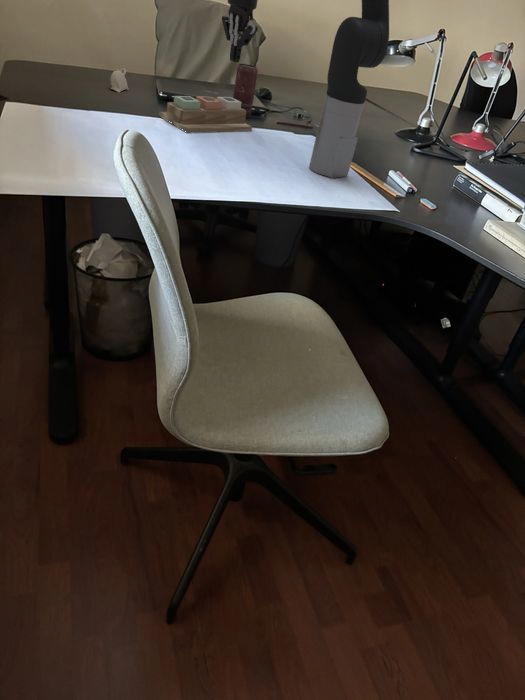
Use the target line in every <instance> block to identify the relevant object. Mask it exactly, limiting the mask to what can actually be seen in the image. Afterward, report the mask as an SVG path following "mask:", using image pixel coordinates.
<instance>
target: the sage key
mask: <svg viewBox="0 0 525 700" xmlns="http://www.w3.org/2000/svg"><path fill="white" fill-rule="evenodd" d="M173 102H174V105H175V106H177V107H179V108H181V109H182V110H200V101H198V100H196V98H194V97H193V96H189V95H174V97H173Z"/></svg>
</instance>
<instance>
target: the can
mask: <svg viewBox="0 0 525 700" xmlns="http://www.w3.org/2000/svg"><path fill="white" fill-rule="evenodd" d="M258 71H259V70H258V67H257V66H256V65H255V66H254V65H252V64H247V63H238V65H237V67H236V75H235V83H234V87H233V88H234V90H233V96H232V98H234V99H236V100H238V101H240V102H241V108H242V109H244V110H246V111H247V112H246V118H245V120H247V119H249V118H250V117H251V115H252V110H253V104H254V96H255V90H256V85H257V80H258V73H259V72H258Z"/></svg>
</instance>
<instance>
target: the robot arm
mask: <svg viewBox="0 0 525 700" xmlns="http://www.w3.org/2000/svg"><path fill="white" fill-rule="evenodd" d="M227 4H229V5H230V6H229V8H228V12H227V13H228V14H227V15H223V16H222V17H221V21H222V26H223V30H224V35H225V38H226V40H227V41H229V44H230V52H229V60H230V61H231V62H233V63H239V62H240V60H241V54H242V48H243V47H244V46H248V45H249V44H250V42H251V41H252V40H253V38H254V36H255V35H256V33H257V32H258V26H257V25H254V22H253V20H254V15H253V14H254V10H256V9H257V7H258V0H227ZM389 42H390V1H389V0H361V17H357V16H349V17H347V18H345V19H344V20H343V21H342V22H341V23H340V25H339V26H338V28H337V31H336V33H335V37H334V41H333V45H332V48H331V50H332V51H331V56H330V60H329V64H328V66H329V67H328V71H327V76H326V77H327V89H326V93H325V98H324V103H323V106H322V110H321V115H320V119H319V122H318V123H319V124H318V127H317V131H316V137H315V141H314V145H313V147H312V148H313V149H312V154H311V157H310V162H309V165H308V167H309V169H310V171H313V172H315V173H316V174H319V175H323V176H326V177H328V178H331V179H334V178H342V177H343V178H344V177H348V175H349V173H350V172H349V171H350V168H351V164H352V161H353V158H354V154H355V150H356V147H357V144H358V140H359V138H358V136H356V134H357V131H358V128H359V127H358V126H359V124H360V120H361V117H362V116H361V115H362V113H363V110H364V106H365V103H366V98H367V95H368V90H367V88H366V87H365V86H364V85H363V84H361V83H360V82H359V80H358V74H359V73H358V72H359V68H367V69H368V68H369V69H373V68H377V67H378V66H379V65H380V64H381V63H382V62H383V61H384V59H385V57H386V55H387V53H388V52H387V51H388V48H389Z"/></svg>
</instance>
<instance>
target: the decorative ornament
mask: <svg viewBox="0 0 525 700" xmlns="http://www.w3.org/2000/svg"><path fill="white" fill-rule="evenodd" d="M126 74H127V70H126V68H124V67H123V68H121V69H120V70H119V69H118V70H113V72H112V73H111V75H110V84H111V87H110V90H113V91H115V92H117V93H118V94H119V93H121V92H123V91H124V90H129V89H130V88H129V87H128V81H127V79H126V78H127V77H125V75H126ZM129 91H130V90H129Z"/></svg>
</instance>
